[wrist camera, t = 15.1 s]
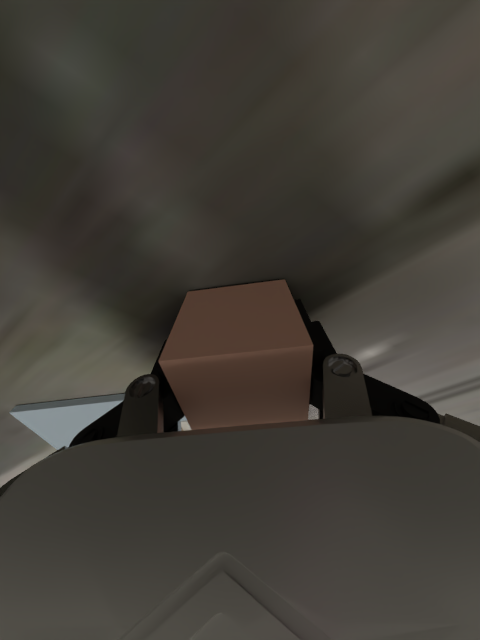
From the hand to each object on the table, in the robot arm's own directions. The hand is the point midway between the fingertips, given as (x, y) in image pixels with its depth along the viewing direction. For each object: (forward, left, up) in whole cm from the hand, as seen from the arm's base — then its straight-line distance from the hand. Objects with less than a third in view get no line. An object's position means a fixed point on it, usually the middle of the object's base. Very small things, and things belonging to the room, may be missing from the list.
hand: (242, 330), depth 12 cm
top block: (0, 0, -1) cm, 1 cm away
